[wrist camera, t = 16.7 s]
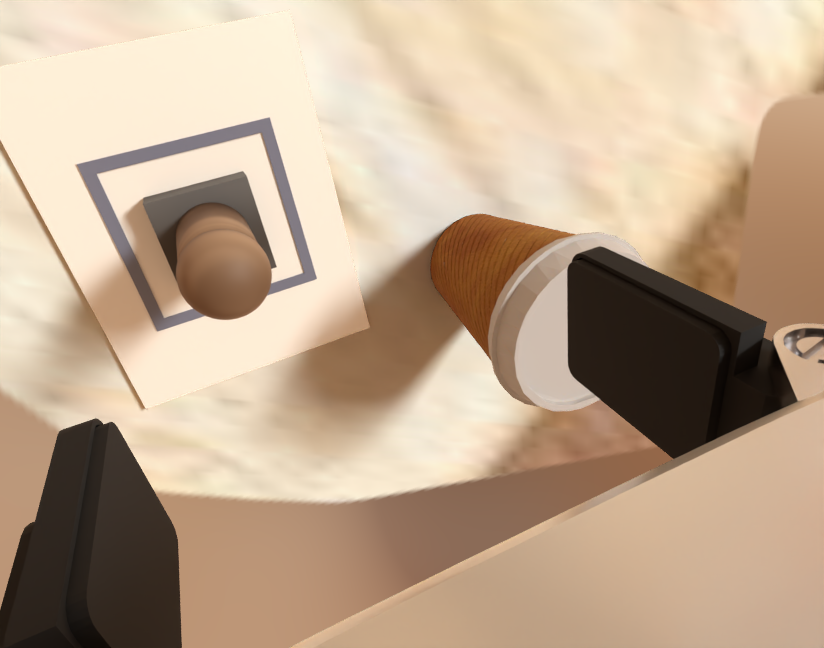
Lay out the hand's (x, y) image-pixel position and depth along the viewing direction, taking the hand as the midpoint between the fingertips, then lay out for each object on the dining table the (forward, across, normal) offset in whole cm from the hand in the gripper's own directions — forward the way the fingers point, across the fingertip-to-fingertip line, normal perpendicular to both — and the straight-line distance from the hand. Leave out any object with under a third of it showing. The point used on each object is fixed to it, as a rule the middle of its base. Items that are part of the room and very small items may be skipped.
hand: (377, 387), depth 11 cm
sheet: (+21, +2, +2) cm, 22 cm away
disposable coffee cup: (+22, -13, +9) cm, 27 cm away
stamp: (+21, +2, +2) cm, 21 cm away
